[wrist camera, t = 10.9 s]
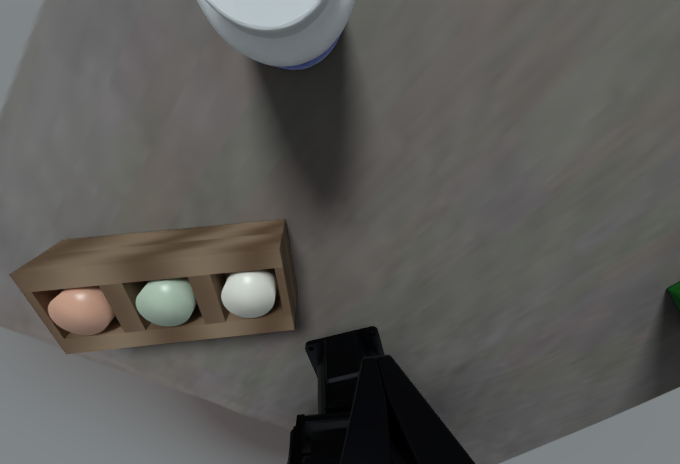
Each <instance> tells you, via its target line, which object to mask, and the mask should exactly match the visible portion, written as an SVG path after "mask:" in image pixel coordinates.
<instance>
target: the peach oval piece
mask: <svg viewBox="0 0 680 464" xmlns="http://www.w3.org/2000/svg"><path fill="white" fill-rule="evenodd" d="M48 313H49V316H50V317H51V319H52V320H53V321H54V322H55V323H56V324H57V325H58V326H59V327H61V328H62V329H64V330H66V331H69V332H71V333H75V334H79V335H94V334H97V333H100V332H101V331H103V330H104V329H105V328H106V327H107V326H108V324H109V323H110V322H111V321H112V319H113V318H114V317H115V314H114V312H113V310H112V308H111V307H110V305H109V303H108V301H107V299H106V298H105V296H104V294H103V292H102V290H101V289H100V287H99V285H98V286H88V287H78V288H68V289H65V290H63V291H62V292H61V293H60V294H59V295H58V296H56V297H55V298H54V299H53V300H52V301H51V302H50V303H49V306H48Z"/></svg>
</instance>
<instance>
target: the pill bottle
mask: <svg viewBox="0 0 680 464" xmlns="http://www.w3.org/2000/svg"><path fill="white" fill-rule="evenodd" d="M197 2H198V4H199V5H200V7H201V9H202V11H203V13H204V14H205V16H206V18H207V19H208V20H209V22H210V23H211V25H212V26H213V27H214V29H215V30H216V31H217V32H218V34H219V35H220V36H221V37H222V38H223V39H224V40H225V41H226V42H227V43H228V44H230V45H231V46H232V47H233V48H234V49H236V50H237V51H239V52H240V53H241V54H243V55H245V56H247V57H249V58H250V59H253V60H255V61H258V62H260V63H263V64H266V65H270V66H274V67H279V68H282V69H288V70H301V69H305V68H309V67H311V66H313V65H315V64H317V63H319V62H320V61H322V60H323V59H324V58H325V57H326V56H327V55H328V54H329V53H330V52H331V51H332V49H333V48H334V47H335V45H336V43H337V41H338V39H339V37H340V35H341V33H342V31H343V30H344V28H345V26H346V24H347V22H348V19H349V17H350V15H351V12H352V9H353V6H354V3H355V0H197Z"/></svg>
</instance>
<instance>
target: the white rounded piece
mask: <svg viewBox="0 0 680 464" xmlns="http://www.w3.org/2000/svg"><path fill="white" fill-rule="evenodd" d="M277 284H278V283H277V278H276V274H275V269H274V268H271V269H261V270H251V271H241V272H231V273H230V274H229V276H228V278H227V281H226V283H225V285H224V288H223V290H222V293H221V299H222V302H223V304H224V306H225V307H226V309H227V310H229V311H230V312H231V313H233V314H235V315H237V316H240V317H244V318H256V317H260V316H263V315H265V314H266V313H268V312H269V311H270V310H271V309H272V307H273V305H274V301H275V296H276V290H277Z"/></svg>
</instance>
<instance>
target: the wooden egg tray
mask: <svg viewBox="0 0 680 464" xmlns="http://www.w3.org/2000/svg"><path fill="white" fill-rule="evenodd" d="M271 268H274V269H275V274H276V278H277V283H278V284H277V290H276V296H275V301H274V305H273V307H272V309H271V310H270V311H269V312H268V313H266V314H265V315H263V316H260V317H256V318H244V317H240V316H237V315H235V314H233V313H231V312H230V311H229V310H227V309H226V307H225V306H224V304H223V302H222V299H221V293H222V290H223V288H224V285H225V283H226V281H227V278H228V276H229V274H230V273H231V272H241V271H251V270H261V269H271ZM9 275H10V276H11V278H12V279H13V280H14V282H15V283H16V285H17V286H18V287H19V289H20V290H21V292H22V293H23V294H24V296H25V297H26V299H27V300H28V301H29V303H30V304H31V306H32V307H33V308H34V310H35V311H36V313H37V314H38V315H39V317H40V318H41V320H42V321H43V322H44V324H45V325H46V327H47V328H48V330H49V331H50V332H51V334H52V335H53V337H54V338H55V339H56V341H57V342H58V344H59V345H60V346H61V348H62V349H63V351H64V352H65V353H66V354H72V353H81V352H91V351H100V350H110V349H119V348H128V347H138V346H147V345H157V344H166V343H175V342H185V341H194V340H204V339H213V338H222V337H232V336H241V335H251V334H260V333H270V332H279V331H288V330H295V318H296V305H297V286H296V280H295V274H294V268H293V262H292V256H291V250H290V244H289V238H288V233H287V227H286V221H285V219H283V220H272V221H261V222H250V223H239V224H229V225H218V226H207V227H196V228H185V229H175V230H164V231H153V232H142V233H131V234H121V235H110V236H99V237H88V238H77V239H67V240H62V241H60V242H59V243H57V244H56V245H54V246H53V247H51V248H50V249H48V250H46V251H45V252H43V253H42V254H40V255H39V256H37V257H36V258H34V259H33V260H31V261H30V262H28V263H26V264H25V265H23V266H22V267H20V268H19V269H17V270H16V271H14V272H13V273H11V274H9ZM180 277H188V279H189V282H190V285H191V287H192V290H193V293H194V295H195V298H196V301H197V304H196V306H195V308H194V310H193V312H192V314H191V316H190V318H189V319H188V320H187V321H186V322H185V323H183V324H180V325H177V326H160V325H157V324H154V323H152V322H150V321H148V320H146V319H145V318H144V317H143V316H142V315H141V314H140V313H139V311H138V310H137V307H136V298H137V296H138V294H139V293H140V292H141V290H142V289H143V288H144V287H145V285H146V284H147V283H148V282H149V280H159V279H170V278H180ZM98 285H99V287H100V289H101V290H102V292H103V294H104V296H105V298H106V299H107V301H108V303H109V305H110V307H111V308H112V310H113V312H114V314H115V317H114V318H113V319H112V321H111V322H110V323H109V324H108V326H107V327H106V328H105V329H104V330H103V331H101V332H100V333H97V334H94V335H79V334H75V333H71V332H69V331H66V330H64V329H62V328H61V327H59V326H58V325H57V324H56V323H55V322H54V321H53V320H52V319H51V317H50V316H49V313H48V306H49V303H50V302H51V301H52V300H53V299H54V298H55V297H56V296H58V295H59V294H60V293H61V292H62V291H63V290H65V289H68V288H78V287H88V286H98Z"/></svg>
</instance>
